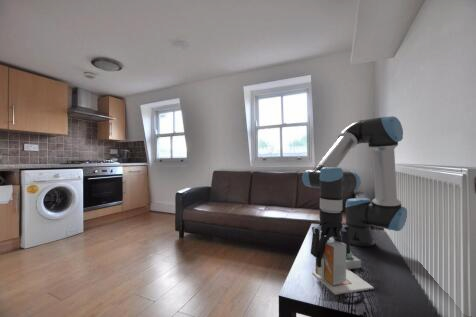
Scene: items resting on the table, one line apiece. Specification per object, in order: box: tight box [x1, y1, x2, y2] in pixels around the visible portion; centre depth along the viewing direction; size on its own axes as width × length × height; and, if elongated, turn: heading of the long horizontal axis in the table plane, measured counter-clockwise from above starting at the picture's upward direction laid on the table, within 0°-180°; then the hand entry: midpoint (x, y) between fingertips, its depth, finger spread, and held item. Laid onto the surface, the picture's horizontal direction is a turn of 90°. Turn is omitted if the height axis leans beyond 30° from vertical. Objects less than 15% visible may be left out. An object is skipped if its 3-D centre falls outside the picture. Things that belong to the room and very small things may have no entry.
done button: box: [346, 251, 353, 260], centre depth 88 cm, size 3×3×2 cm
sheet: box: [312, 268, 375, 295], centre depth 76 cm, size 15×13×1 cm
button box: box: [346, 254, 362, 270], centre depth 88 cm, size 7×7×3 cm
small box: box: [315, 237, 346, 285], centre depth 75 cm, size 8×6×13 cm
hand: (330, 274), depth 75 cm, fingers closed on small box, 7 cm apart
